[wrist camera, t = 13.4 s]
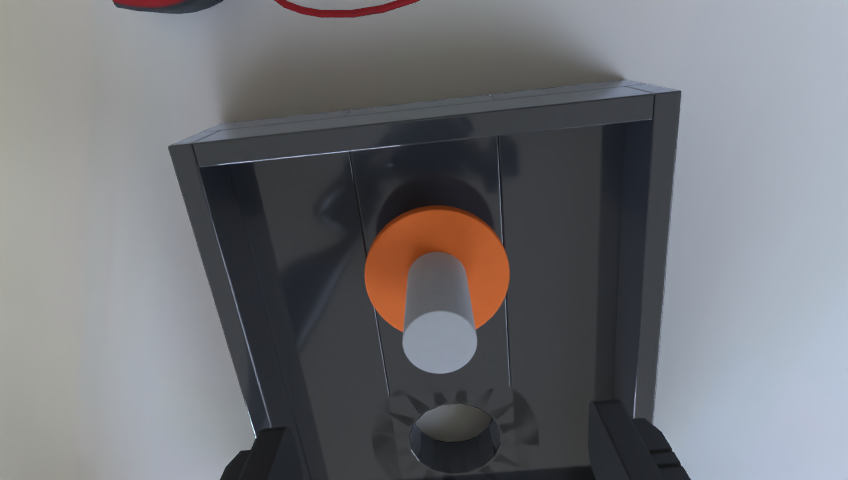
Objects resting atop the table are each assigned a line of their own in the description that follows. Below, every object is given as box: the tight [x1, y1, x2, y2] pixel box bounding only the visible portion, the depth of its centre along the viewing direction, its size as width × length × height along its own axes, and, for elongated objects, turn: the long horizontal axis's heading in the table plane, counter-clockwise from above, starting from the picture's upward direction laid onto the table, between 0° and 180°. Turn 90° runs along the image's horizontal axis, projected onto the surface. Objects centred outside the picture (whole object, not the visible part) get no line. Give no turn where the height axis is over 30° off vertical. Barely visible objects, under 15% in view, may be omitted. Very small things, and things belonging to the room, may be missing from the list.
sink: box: [200, 80, 646, 480], centre depth 28 cm, size 20×26×2 cm
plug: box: [365, 205, 510, 374], centre depth 21 cm, size 6×6×8 cm
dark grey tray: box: [168, 84, 681, 480], centre depth 25 cm, size 20×26×3 cm
